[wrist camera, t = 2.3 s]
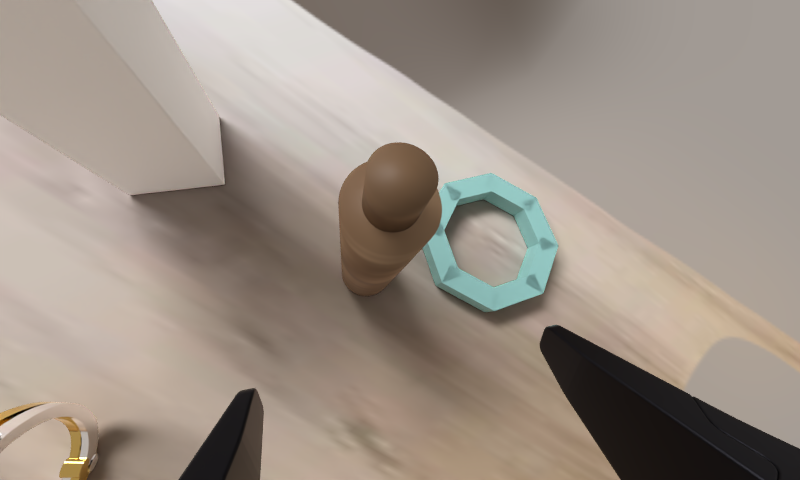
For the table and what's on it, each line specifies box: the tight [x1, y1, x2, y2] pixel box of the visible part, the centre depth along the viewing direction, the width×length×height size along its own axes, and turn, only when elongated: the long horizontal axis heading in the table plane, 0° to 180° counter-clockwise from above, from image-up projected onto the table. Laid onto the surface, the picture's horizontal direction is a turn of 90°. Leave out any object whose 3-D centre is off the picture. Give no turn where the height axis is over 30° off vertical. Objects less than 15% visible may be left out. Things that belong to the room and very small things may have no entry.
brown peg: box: [338, 143, 442, 296], centre depth 15 cm, size 4×4×14 cm
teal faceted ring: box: [423, 173, 558, 312], centre depth 23 cm, size 10×10×2 cm
